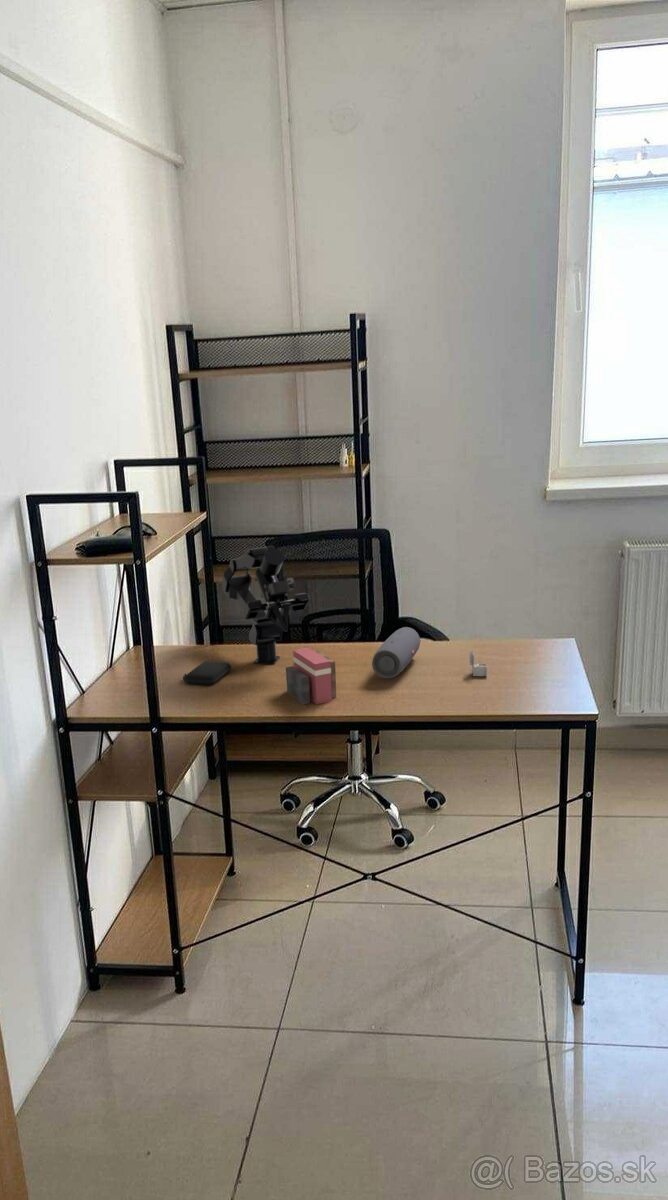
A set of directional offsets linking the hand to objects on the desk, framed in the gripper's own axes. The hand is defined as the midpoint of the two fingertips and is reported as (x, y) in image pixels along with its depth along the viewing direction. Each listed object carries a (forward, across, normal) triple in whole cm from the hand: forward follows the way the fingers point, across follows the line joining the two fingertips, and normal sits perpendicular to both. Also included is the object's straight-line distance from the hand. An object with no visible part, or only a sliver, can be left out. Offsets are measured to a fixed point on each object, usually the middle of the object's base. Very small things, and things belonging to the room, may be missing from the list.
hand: (286, 631), depth 252 cm
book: (+21, 0, -2) cm, 21 cm away
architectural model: (+27, +50, -7) cm, 58 cm away
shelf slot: (+21, 0, -2) cm, 21 cm away
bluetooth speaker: (+17, +29, +2) cm, 34 cm away
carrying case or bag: (+1, -20, +19) cm, 28 cm away
